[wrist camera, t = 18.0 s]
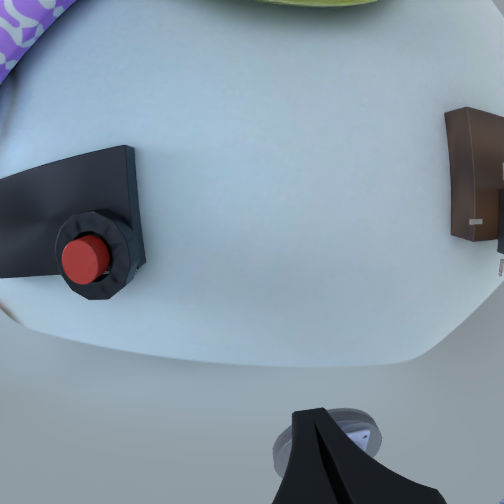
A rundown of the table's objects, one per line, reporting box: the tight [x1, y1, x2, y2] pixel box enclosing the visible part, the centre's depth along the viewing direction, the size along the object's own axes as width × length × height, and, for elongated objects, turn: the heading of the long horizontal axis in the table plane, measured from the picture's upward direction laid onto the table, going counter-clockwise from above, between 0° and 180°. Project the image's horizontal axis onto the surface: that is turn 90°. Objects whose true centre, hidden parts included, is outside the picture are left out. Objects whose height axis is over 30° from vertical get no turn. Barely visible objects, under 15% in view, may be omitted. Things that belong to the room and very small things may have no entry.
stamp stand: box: [445, 107, 504, 276], centre depth 18 cm, size 13×9×3 cm
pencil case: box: [0, 0, 76, 84], centre depth 10 cm, size 22×9×10 cm, turn 135°
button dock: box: [0, 145, 146, 300], centre depth 17 cm, size 14×9×4 cm, turn 94°
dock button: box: [62, 235, 110, 284], centre depth 16 cm, size 3×3×2 cm
